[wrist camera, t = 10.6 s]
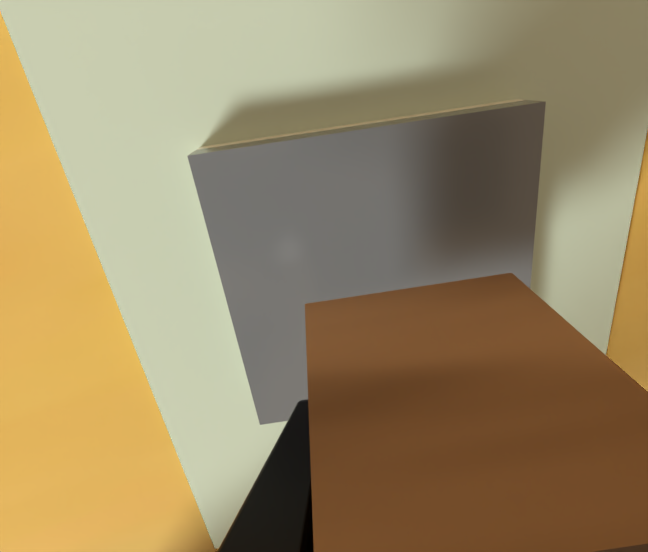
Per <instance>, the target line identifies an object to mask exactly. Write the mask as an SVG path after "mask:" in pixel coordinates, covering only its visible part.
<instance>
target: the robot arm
mask: <svg viewBox="0 0 648 552" xmlns="http://www.w3.org/2000/svg"><path fill="white" fill-rule="evenodd" d="M217 552H314V544H313V517H312V489H311V462H310V435H309V408H308V399H305V400H300V401H299V402H298V403H297V405H296V406H295V408H294V410H293V412H292V414H291V416H290V417H289V419H288V421H287V423H286V425H285V427H284V429H283V430H282V432H281V434H280V436H279V438H278V440H277V441H276V443H275V445H274V447H273V449H272V451H271V453H270V454H269V456H268V458H267V460H266V462H265V464H264V466H263V467H262V469H261V471H260V473H259V475H258V477H257V478H256V480H255V482H254V484H253V486H252V488H251V490H250V491H249V493H248V495H247V497H246V499H245V501H244V503H243V504H242V506H241V508H240V510H239V512H238V514H237V515H236V517H235V519H234V521H233V523H232V525H231V527H230V528H229V530H228V532H227V534H226V536H225V538H224V540H223V541H222V543H221V545H220V547H219V549H218V551H217Z"/></svg>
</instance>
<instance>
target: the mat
mask: <svg viewBox="0 0 648 552" xmlns="http://www.w3.org/2000/svg"><path fill="white" fill-rule="evenodd" d="M0 11H1V14H2V16H3V19H4V21H5V24H6V26H7V29H8V31H9V34H10V36H11V39H12V41H13V44H14V46H15V49H16V51H17V54H18V56H19V59H20V61H21V64H22V66H23V69H24V71H25V74H26V76H27V79H28V81H29V84H30V86H31V89H32V92H33V94H34V97H35V99H36V102H37V104H38V107H39V109H40V112H41V114H42V117H43V119H44V122H45V124H46V127H47V129H48V132H49V134H50V137H51V139H52V142H53V144H54V147H55V149H56V152H57V154H58V157H59V159H60V162H61V164H62V167H63V169H64V172H65V174H66V177H67V179H68V182H69V184H70V187H71V189H72V192H73V194H74V197H75V199H76V202H77V204H78V207H79V209H80V212H81V214H82V217H83V219H84V222H85V224H86V227H87V229H88V232H89V234H90V237H91V239H92V242H93V244H94V247H95V249H96V252H97V254H98V257H99V259H100V262H101V264H102V267H103V269H104V272H105V274H106V277H107V279H108V282H109V284H110V287H111V289H112V292H113V294H114V297H115V299H116V302H117V304H118V307H119V310H120V312H121V315H122V317H123V320H124V322H125V325H126V327H127V330H128V332H129V335H130V337H131V340H132V342H133V345H134V347H135V350H136V352H137V355H138V357H139V360H140V362H141V365H142V367H143V370H144V372H145V375H146V377H147V380H148V382H149V385H150V387H151V390H152V392H153V395H154V397H155V400H156V402H157V405H158V407H159V410H160V412H161V415H162V417H163V420H164V422H165V425H166V427H167V430H168V432H169V435H170V437H171V440H172V442H173V445H174V447H175V450H176V452H177V455H178V457H179V460H180V462H181V465H182V467H183V470H184V472H185V475H186V477H187V480H188V482H189V485H190V487H191V490H192V492H193V495H194V497H195V500H196V502H197V505H198V507H199V510H200V512H201V515H202V517H203V520H204V523H205V525H206V528H207V530H208V533H209V535H210V538H211V540H212V543H213V545H214V548H215V549H216V548H219V547H220V545H221V543H222V541H223V540H224V538H225V536H226V534H227V532H228V530H229V528H230V527H231V525H232V523H233V521H234V519H235V517H236V515H237V514H238V512H239V510H240V508H241V506H242V504H243V503H244V501H245V499H246V497H247V495H248V493H249V491H250V490H251V488H252V486H253V484H254V482H255V480H256V478H257V477H258V475H259V473H260V471H261V469H262V467H263V466H264V464H265V462H266V460H267V458H268V456H269V454H270V453H271V451H272V449H273V447H274V445H275V443H276V441H277V440H278V438H279V436H280V434H281V432H282V430H283V429H284V427H285V425H286V423H287V421H283V422H276V423H270V424H263V425H260V423H259V420H258V416H257V412H256V408H255V405H254V401H253V397H252V394H251V390H250V386H249V383H248V379H247V375H246V371H245V368H244V364H243V360H242V357H241V353H240V349H239V346H238V342H237V338H236V334H235V331H234V327H233V323H232V320H231V316H230V312H229V309H228V305H227V301H226V297H225V294H224V290H223V286H222V283H221V279H220V275H219V272H218V268H217V264H216V260H215V257H214V253H213V249H212V246H211V242H210V238H209V235H208V231H207V227H206V223H205V220H204V216H203V212H202V209H201V205H200V201H199V198H198V194H197V190H196V186H195V183H194V179H193V175H192V172H191V168H190V164H189V161H188V157H187V156H188V155H189V154H191V153H192V152H194V151H195V150H197V149H198V148H200V147H203V146H209V145H216V144H222V143H229V142H236V141H242V140H249V139H256V138H262V137H269V136H275V135H282V134H289V133H295V132H302V131H308V130H315V129H322V128H328V127H335V126H341V125H348V124H355V123H361V122H368V121H374V120H381V119H388V118H394V117H401V116H408V115H414V114H421V113H427V112H434V111H441V110H447V109H454V108H460V107H467V106H474V105H480V104H487V103H493V102H500V101H507V100H513V99H519V100H532V101H545V102H546V106H545V118H544V130H543V142H542V154H541V166H540V178H539V190H538V202H537V214H536V226H535V238H534V250H533V262H532V274H531V286H530V289H531V290H532V291H533V292H534V293H535V294H537V295H538V296H539V297H540V298H541V299H542V300H543V301H545V302H546V303H547V304H548V305H549V306H550V307H551V308H553V309H554V310H555V311H556V312H557V313H558V314H559V315H561V316H562V317H563V318H564V319H565V320H566V321H567V322H569V323H570V324H571V325H572V326H573V327H574V328H575V329H576V330H578V331H579V332H580V333H581V334H582V335H583V336H584V337H586V338H587V339H588V340H589V341H590V342H591V343H592V344H594V345H595V346H596V347H597V348H598V349H599V350H600V351H602V352H603V353H604V354H605V355H606V352H607V347H608V341H609V336H610V330H611V325H612V320H613V314H614V309H615V303H616V298H617V292H618V287H619V282H620V276H621V271H622V265H623V260H624V255H625V249H626V244H627V238H628V233H629V227H630V222H631V217H632V211H633V206H634V200H635V195H636V190H637V184H638V179H639V173H640V168H641V162H642V157H643V152H644V146H645V141H646V135H647V130H648V0H0Z"/></svg>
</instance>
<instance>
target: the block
mask: <svg viewBox="0 0 648 552" xmlns="http://www.w3.org/2000/svg"><path fill="white" fill-rule="evenodd" d="M305 326H306V353H307V381H308V408H309V435H310V462H311V489H312V517H313V544H314V552H648V392H647V391H646V390H645V389H644V388H643V387H641V386H640V385H639V384H638V383H637V382H636V381H635V380H633V379H632V378H631V377H630V376H629V375H628V374H627V373H625V372H624V371H623V370H622V369H621V368H620V367H619V366H617V365H616V364H615V363H614V362H613V361H612V360H611V359H610V358H608V357H607V356H606V355H605V354H604V353H603V352H602V351H600V350H599V349H598V348H597V347H596V346H595V345H594V344H592V343H591V342H590V341H589V340H588V339H587V338H586V337H584V336H583V335H582V334H581V333H580V332H579V331H578V330H576V329H575V328H574V327H573V326H572V325H571V324H570V323H569V322H567V321H566V320H565V319H564V318H563V317H562V316H561V315H559V314H558V313H557V312H556V311H555V310H554V309H553V308H551V307H550V306H549V305H548V304H547V303H546V302H545V301H543V300H542V299H541V298H540V297H539V296H538V295H537V294H535V293H534V292H533V291H532V290H531V289H530V288H529V287H527V286H526V285H525V284H524V283H523V282H522V281H521V280H520V279H518V278H517V277H516V276H515V275H514V274H513V273H506V274H499V275H493V276H486V277H479V278H473V279H466V280H459V281H453V282H446V283H440V284H433V285H426V286H420V287H413V288H407V289H400V290H393V291H387V292H380V293H373V294H367V295H360V296H354V297H347V298H340V299H334V300H327V301H320V302H314V303H307V304H305Z"/></svg>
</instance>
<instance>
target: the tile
mask: <svg viewBox="0 0 648 552" xmlns="http://www.w3.org/2000/svg"><path fill="white" fill-rule="evenodd" d="M545 106H546V102H545V101H532V100H519V99H513V100H507V101H500V102H493V103H487V104H480V105H474V106H467V107H460V108H454V109H447V110H441V111H434V112H427V113H421V114H414V115H408V116H401V117H394V118H388V119H381V120H374V121H368V122H361V123H355V124H348V125H341V126H335V127H328V128H322V129H315V130H308V131H302V132H295V133H289V134H282V135H275V136H269V137H262V138H256V139H249V140H242V141H236V142H229V143H222V144H216V145H209V146H203V147H200V148H198V149H197V150H195V151H194V152H192V153H191V154H189V155H188V156H187V157H188V161H189V164H190V168H191V172H192V175H193V179H194V183H195V186H196V190H197V194H198V198H199V201H200V205H201V209H202V212H203V216H204V220H205V223H206V227H207V231H208V235H209V238H210V242H211V246H212V249H213V253H214V257H215V260H216V264H217V268H218V272H219V275H220V279H221V283H222V286H223V290H224V294H225V297H226V301H227V305H228V309H229V312H230V316H231V320H232V323H233V327H234V331H235V334H236V338H237V342H238V346H239V349H240V353H241V357H242V360H243V364H244V368H245V371H246V375H247V379H248V383H249V386H250V390H251V394H252V397H253V401H254V405H255V408H256V412H257V416H258V420H259V423H260V425H263V424H270V423H276V422H283V421H288V419H289V417H290V416H291V414H292V412H293V410H294V408H295V406H296V405H297V403H298V402H299V401H300V400H305V399H308V381H307V353H306V326H305V304H307V303H314V302H320V301H327V300H334V299H340V298H347V297H354V296H360V295H367V294H373V293H380V292H387V291H393V290H400V289H407V288H413V287H420V286H426V285H433V284H440V283H446V282H453V281H459V280H466V279H473V278H479V277H486V276H493V275H499V274H506V273H513V274H514V275H515V276H516V277H517V278H518V279H520V280H521V281H522V282H523V283H524V284H525V285H526V286H527V287H529V288H530V286H531V274H532V262H533V250H534V238H535V226H536V214H537V202H538V190H539V178H540V166H541V154H542V142H543V130H544V118H545Z"/></svg>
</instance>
